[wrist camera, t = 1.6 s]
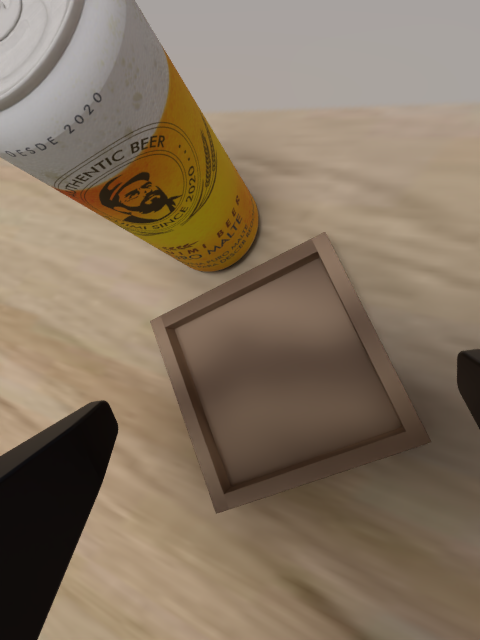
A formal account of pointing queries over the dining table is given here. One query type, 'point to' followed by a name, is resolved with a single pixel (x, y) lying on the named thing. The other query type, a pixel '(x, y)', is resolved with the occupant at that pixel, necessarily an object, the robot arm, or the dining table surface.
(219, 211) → the beer can
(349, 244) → the dining table surface
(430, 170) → the dining table surface
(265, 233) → the dining table surface
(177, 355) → the tray
